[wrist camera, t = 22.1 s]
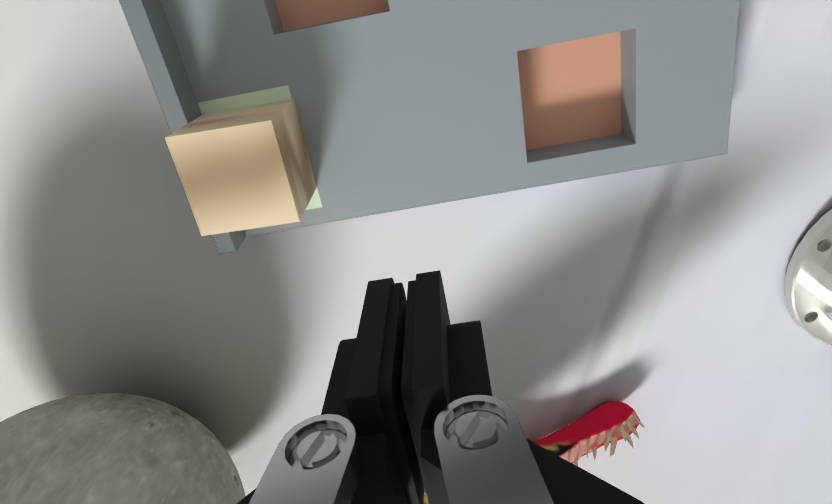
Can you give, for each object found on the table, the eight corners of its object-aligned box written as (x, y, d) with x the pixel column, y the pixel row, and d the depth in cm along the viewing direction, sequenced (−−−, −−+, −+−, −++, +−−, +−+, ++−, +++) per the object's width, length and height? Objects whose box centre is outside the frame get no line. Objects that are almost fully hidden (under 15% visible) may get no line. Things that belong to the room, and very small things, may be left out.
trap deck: (705, 142, 32) (747, 164, 28) (242, 222, 34) (219, 254, 30) (729, -248, 24) (793, -295, 20) (123, -107, 26) (69, -124, 22)
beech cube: (316, 186, 30) (299, 221, 26) (232, 199, 31) (201, 236, 26) (294, 98, 28) (271, 120, 24) (203, 113, 28) (164, 137, 24)
